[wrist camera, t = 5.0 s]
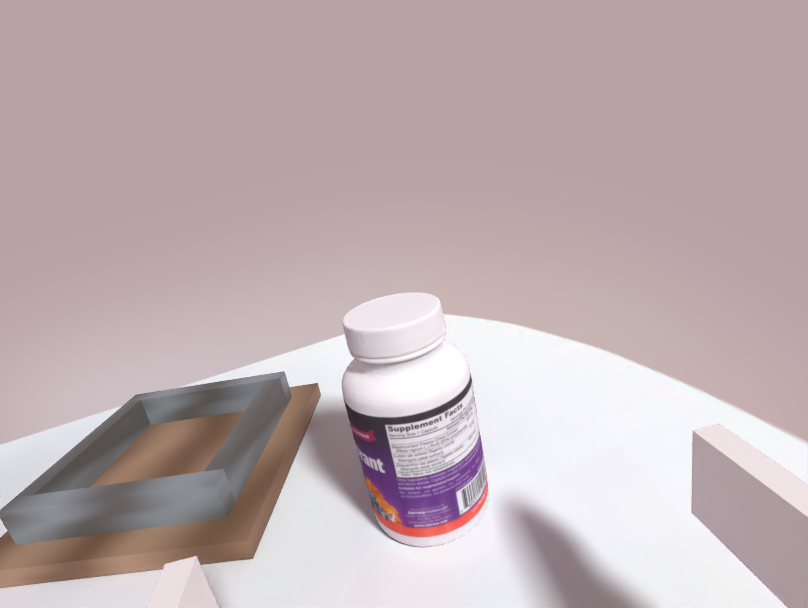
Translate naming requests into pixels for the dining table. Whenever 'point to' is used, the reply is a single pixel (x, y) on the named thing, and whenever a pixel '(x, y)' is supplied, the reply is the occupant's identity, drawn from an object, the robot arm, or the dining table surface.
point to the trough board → (161, 483)
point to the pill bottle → (414, 420)
